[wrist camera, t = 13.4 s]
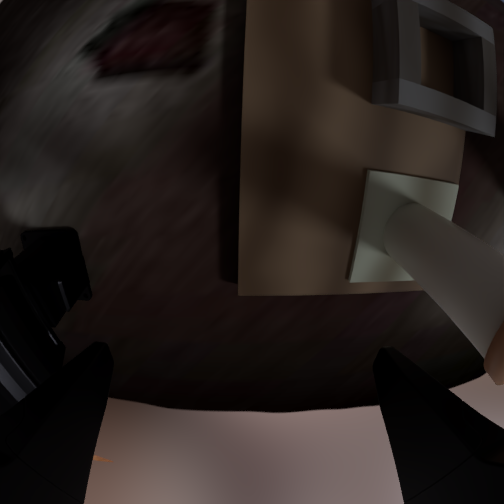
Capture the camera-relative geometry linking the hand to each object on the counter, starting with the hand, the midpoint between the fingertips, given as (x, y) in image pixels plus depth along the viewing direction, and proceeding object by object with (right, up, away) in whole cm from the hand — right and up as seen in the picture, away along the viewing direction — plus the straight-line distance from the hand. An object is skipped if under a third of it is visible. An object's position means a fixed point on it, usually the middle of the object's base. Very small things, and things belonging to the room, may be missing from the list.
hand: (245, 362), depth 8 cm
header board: (+8, +11, +10) cm, 17 cm away
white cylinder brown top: (+12, +5, +11) cm, 17 cm away
